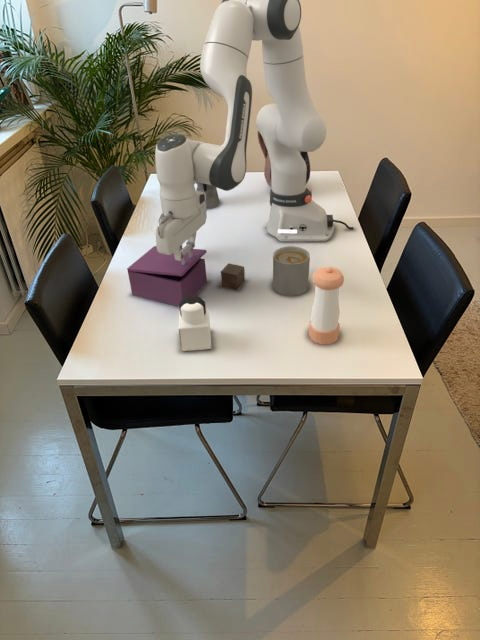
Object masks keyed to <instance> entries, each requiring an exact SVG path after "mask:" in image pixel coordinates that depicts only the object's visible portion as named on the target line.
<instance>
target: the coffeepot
mask: <svg viewBox="0 0 480 640" xmlns="http://www.w3.org/2000/svg"><path fill="white" fill-rule="evenodd" d="M195 190H196V191H200V192H204V193H206V200H205V203H206V210H207V209H208V210H209V209H214V208H216V207H218V206H219V204H220V203H221V201H220V197H219V193H218V188H217V187H214V186H212V185H208V184H204V183H200V182H197V183H196V188H195Z"/></svg>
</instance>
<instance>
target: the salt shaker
mask: <svg viewBox="0 0 480 640" xmlns="http://www.w3.org/2000/svg"><path fill="white" fill-rule="evenodd" d="M312 282H313V284H314V286H315V291H314V299H313V304H312V306H311V313H310V320H309V322H308V323H309V325H308V326H309V327H308V338H309V339H310V340H311V341H312V342H314V343H315V344H319V345H332V344H333V343H335V342H336V341H338V339H339V333H340V325H341V324H340V322H339V321H340V320H339V319H340V314H341V313H340V312H341V311H340V299H339V298H340V288H341V286H343V284H344V282H345V276H344V273H343V272H342V271H341V270H340V269H339V268H336V267H333V266H322V267H320V268H317V270H315V271H314V273H313V275H312Z"/></svg>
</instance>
